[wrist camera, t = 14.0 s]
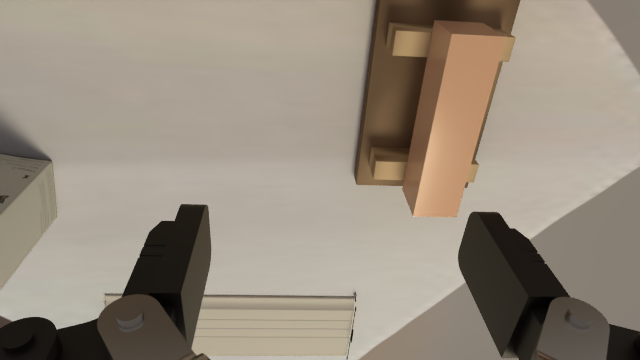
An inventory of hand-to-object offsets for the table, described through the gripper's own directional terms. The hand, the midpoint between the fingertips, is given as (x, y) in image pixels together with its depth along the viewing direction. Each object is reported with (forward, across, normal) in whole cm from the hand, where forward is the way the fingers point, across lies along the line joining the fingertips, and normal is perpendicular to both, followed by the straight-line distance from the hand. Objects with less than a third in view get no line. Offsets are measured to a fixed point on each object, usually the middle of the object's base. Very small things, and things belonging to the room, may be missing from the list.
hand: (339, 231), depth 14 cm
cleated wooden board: (+30, -12, +6) cm, 33 cm away
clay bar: (+26, -12, +6) cm, 29 cm away
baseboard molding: (+31, +8, +38) cm, 50 cm away
